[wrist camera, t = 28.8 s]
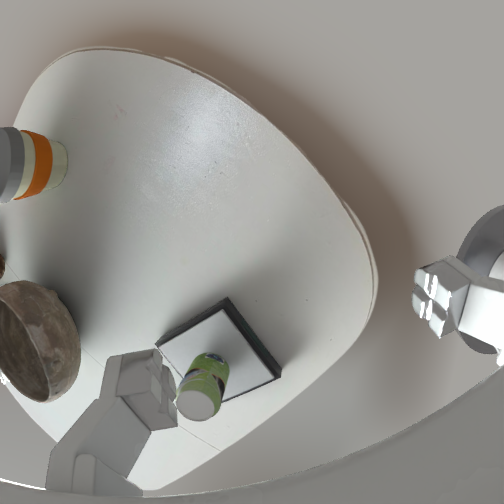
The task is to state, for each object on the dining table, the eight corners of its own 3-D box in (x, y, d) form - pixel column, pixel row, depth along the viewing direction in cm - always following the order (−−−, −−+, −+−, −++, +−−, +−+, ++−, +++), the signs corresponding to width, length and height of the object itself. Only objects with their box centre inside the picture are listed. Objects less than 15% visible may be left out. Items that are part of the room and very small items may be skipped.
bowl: (85, 271, 49) (28, 296, 35) (113, 382, 54) (74, 423, 39) (17, 270, 53) (-31, 287, 39) (42, 362, 58) (5, 390, 43)
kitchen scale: (282, 369, 46) (280, 379, 43) (212, 400, 50) (207, 410, 47) (228, 296, 45) (223, 303, 42) (160, 337, 49) (153, 345, 46)
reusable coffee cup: (81, 138, 44) (19, 130, 30) (66, 205, 47) (4, 214, 33) (43, 129, 45) (-14, 122, 31) (29, 188, 48) (-26, 194, 34)
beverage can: (188, 367, 46) (158, 412, 34) (208, 336, 44) (179, 381, 32) (221, 387, 46) (199, 437, 34) (243, 358, 44) (224, 408, 32)
